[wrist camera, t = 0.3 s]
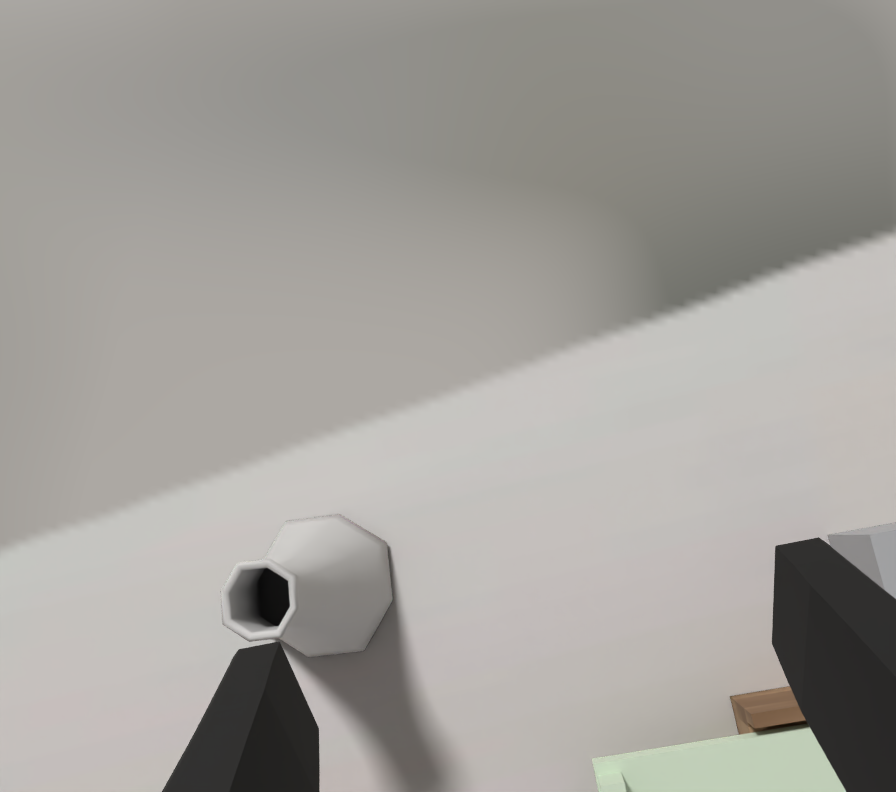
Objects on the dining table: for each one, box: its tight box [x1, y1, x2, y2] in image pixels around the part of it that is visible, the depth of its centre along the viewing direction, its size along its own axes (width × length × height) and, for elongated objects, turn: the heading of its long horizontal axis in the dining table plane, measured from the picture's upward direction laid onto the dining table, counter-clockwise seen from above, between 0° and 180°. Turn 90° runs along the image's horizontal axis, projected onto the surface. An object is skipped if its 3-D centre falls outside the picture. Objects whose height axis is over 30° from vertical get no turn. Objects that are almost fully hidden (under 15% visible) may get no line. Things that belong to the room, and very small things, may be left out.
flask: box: [220, 514, 393, 657], centre depth 36 cm, size 7×7×10 cm
